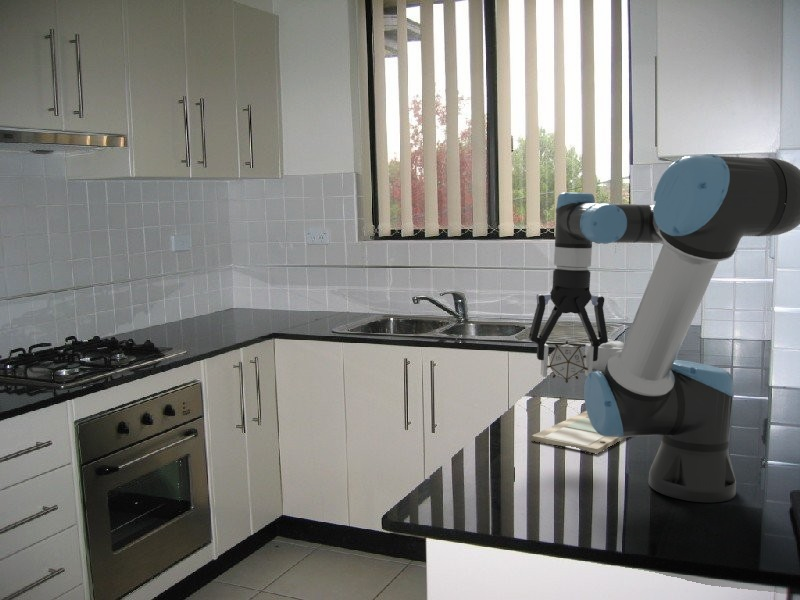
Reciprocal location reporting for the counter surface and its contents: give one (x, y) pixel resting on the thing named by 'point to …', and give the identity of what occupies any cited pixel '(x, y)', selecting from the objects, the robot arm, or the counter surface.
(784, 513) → the counter surface
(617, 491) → the counter surface
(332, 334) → the counter surface
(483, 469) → the counter surface
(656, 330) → the robot arm
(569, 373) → the game die
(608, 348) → the lumpy-topped squat cylinder
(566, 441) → the board
